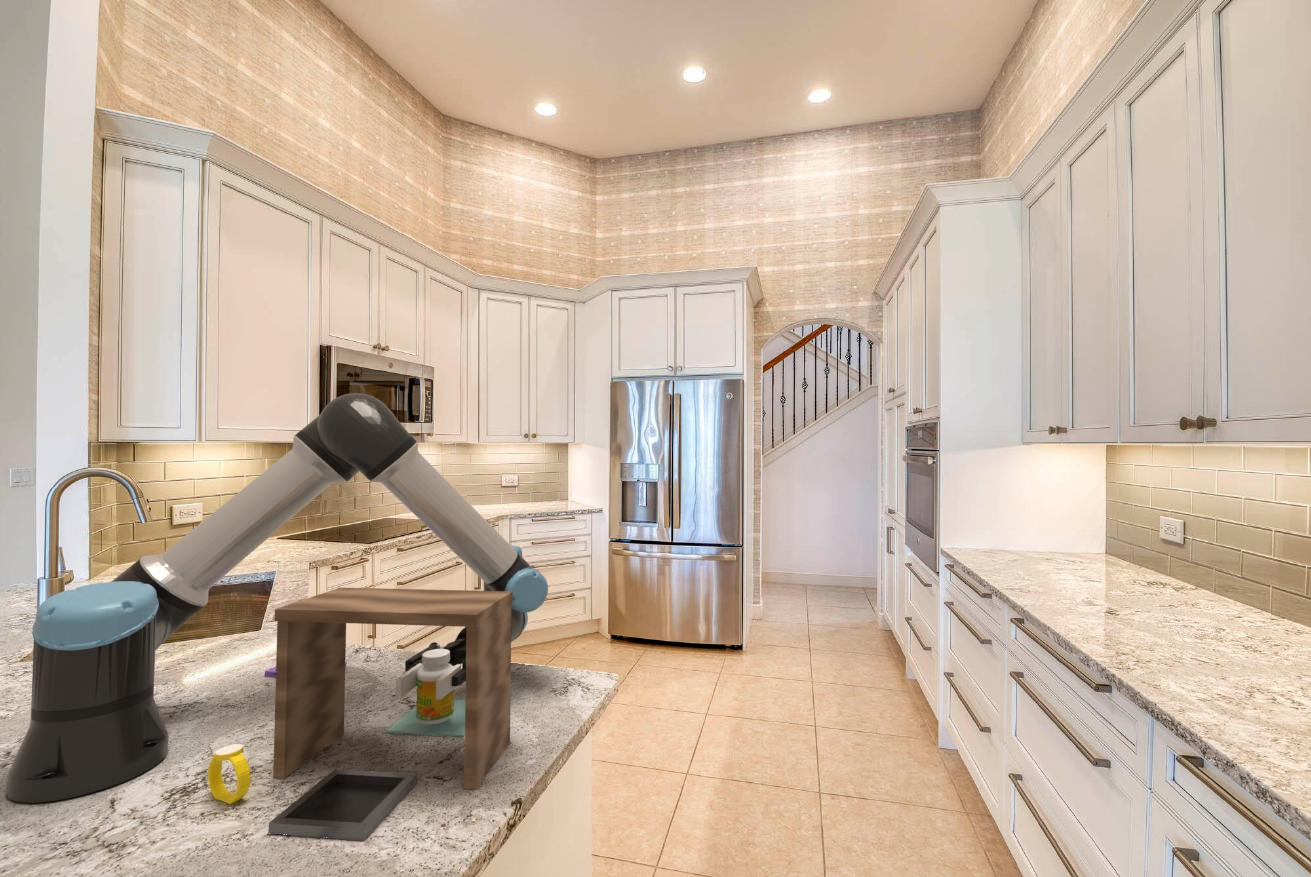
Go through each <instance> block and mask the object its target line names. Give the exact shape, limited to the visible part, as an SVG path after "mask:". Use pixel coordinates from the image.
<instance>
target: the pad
mask: <svg viewBox="0 0 1311 877" xmlns="http://www.w3.org/2000/svg"><path fill="white" fill-rule="evenodd" d="M465 702H466V699H455V698H454V714H453V716H452V717H451V718H450V719H448V720H447V721H444V722H442V723H437V724H422V723H419V722H418V721H417V718H416V710H417V705H416V706H415V707H414V708H412V709H411V710H410V711H408V712H407V713H406V714H405V715H403V716H402V717H401V718H400V719H398V720H397V721H396V722H395V723H394V724H393V725H391V726H390V727H388V729H386V731H385V732H386V734H399V735H400V734H401V735H403V734H404V735H419V736H421V735H422V736H437V737H438V736H443V737H462V738H463V737H464V738H465Z"/></svg>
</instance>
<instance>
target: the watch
mask: <svg viewBox="0 0 1311 877" xmlns="http://www.w3.org/2000/svg"><path fill="white" fill-rule="evenodd" d="M243 753H244V745H243V744H242V743H234V744H229V745H226V746H223V747H221V748H219V749H217V750H216V751H215V753H214V756H212V757H211V761H210V762H209V765H208V769H207V770H208V772H207V782H208V786H209V789H210V792H211V794H212V796H213V798H214V800H218V801H220V800H221V802H224V803H226V804H229V805H232V804H234V803H237V802H238V801H240V800H242V799H243V798H244V797H245V796H246V795H247V793H248V792H249V788H250V785H251V768H250V765H249V762H248V760H247V757H246V756H245V754H243ZM227 760H229V762H230V763H231V765H232V766H233V768H234V772H235V775H236V790H235V793H234V792H231V791H230V790H228V788H227V787H226V785H225V783H224V780H223V779H224V778H223V775H222V767H223V766H222V764H223V761H227Z"/></svg>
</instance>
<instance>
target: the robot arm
mask: <svg viewBox="0 0 1311 877" xmlns="http://www.w3.org/2000/svg"><path fill="white" fill-rule="evenodd" d="M358 473H360V474H362V475H363V476H364V477H365V478H366V479H367V480H368V481H369V482H371V483H379V484H382V485H383V486H384V487H385V488H386V489H387V490H388V491H389V492H390V493H391V494H392V495H394V497H395V498H397V499H398V500H399V501H400V502H401V503H402V504H403V505H404V506H405V508H407V509H408V510H409V511H410V512H411V513H412V514H413V515H414V516H415V517H417V519H419V520H420V521H421V523H423V524H424V525H425V526H426V527H427V528H428V529H429V530H430V531H431V532H432V533H433V534H434V535H435V536H436V537H437V538H439V540H440V541H441V542H443V543H444V544H445V545H446V546H447V548H448V549H450V550H451V551H452V552H453V553H454V554H455V555H456V556H457V558H459V559H460V560H461V561H463V563H464V564H465V565H466V566H467V567H468V568H470V569H471V570H472V571H473V572H474V574H475V575H477V576H478V577H479V578H480V579H481V580H482V581H483V591H513V602H512V603H511V643H512V642H514V641H515V640H516V639H518V638H519V637H520V636H521V635H522V633H523V632H524V630H525V629H526V627H527V625H528V622H529V615H528V613H531V612H534V611H536V610H538V609H539V608H540V607H541V606H542V605H543V603H544V602H545V601H546V600H547V597H548V594H549V584H548V581H547V579H546V577H545V576H544V575H543V574H542V573H541V572H540V570H538V569H536V568H533V567H532V566H531V564H530V563H529V562H528V561H526V560H525V559H524V557H523V550H522V548H521V547H520V546H517V545H511V544H510V543H509V542H508V541H507V540H506V539H505V538H504V537H503V536H502V535H501V534H500V533H499V532H498V531H497V530H496V529H495V528H494V527H493V525H491V524H490V523H489V522H488V521H487V520H486V519H485V518H484V517H483V516H482V515H481V514H480V513H479V512H478V511H477V510H476V509H475V508H474V507H473V506H472V505H471V504H470V502H468V500H467V499H466V498H465V497H463V496H462V495H461V493H459V492H458V490H457V489H455V487H454V486H453V485H451V483H450V482H449V481H448V480H447V479H446V478H445V477H444V476H443V475H442V474H441V473H440V472H439V471H438V470H437V469H436V468H435V467H434V466H433V465H432V464H431V463H430V462H429V461H428V460H427V459H426V458H425V457H424V456H423V455H422V454H421V453H420V452H419V442H418V441H417V440H416V439H415V438H414V437H413V436H412V435H411V433H410V432H409V431H408V430H407V429H406V428H405V427H404V426H403V424H402V422H400V420H398V418H397V417H396V415H395V414H394V413H393V411H392V410H391V409H390V408H389V407H388V406H387V405H386V404H385V403H384V402H383V401H381V400H380V399H379V398H377V397H375V396H373V395H370V394H366V393H360V392H352V393H346V394H343V395H340V396H337V397H336V398H334V399H332V400H331V401H330V402H328V403H327V404H326V405H325V407H324V408H323V410H322V411H321V413H320V414H319V415H317V416H316V417H315V418H314V419H313V420H312V421H310V422H309V423H308V424H307V425H306V426H304V427H303V428H302V429H301V430H300V431H298V432H297V433H296V434H294V435H293V443H292V448H291V449H290V450H289V451H288V452H287V453H286V454H285V455H283V456H282V457H281V458H279V459H278V460H277V461H276V462H274V463H273V464H272V465H271V466H269V467H268V468H267V469H266V470H264V471H263V472H262V473H261V474H260V475H258V476H257V477H256V478H255V479H253V480H252V481H251V482H250V483H249V484H247V485H246V486H245V487H244V488H241V490H239V491H238V492H237V493H236V494H235V495H233V496H232V497H231V498H230V499H229V500H228V501H226V502H225V503H223V505H221V506H220V507H219V508H218V509H216V510H215V511H213V513H211V514H209V516H207V517H206V518H205V519H204V520H203V521H202V522H200V523H199V524H198V525H196V526H195V527H194V528H193V529H192V530H190V531H189V532H188V533H187V534H185V535H184V536H183V537H181V538H180V539H179V540H178V541H176V542H175V543H174V544H173V545H171V546H170V547H169V548H167V550H165V551H164V552H163V553H161V554H153V555H151V554H150V555H149V554H148V555H143V556H142V557H141V558H139V559H138V560H137V561H135V562H134V563H132V564H131V565H130V566H129V567H127V568H126V569H125V570H124V571H122V572H121V573H120V574H119V575H117V576H116V577H115V578H113V579H112V581H109V582H108V581H107V582H100V583H93V584H88V585H87V584H86V585H83V586H78V587H76V588H75V589H66V590H64V591H61V592H58V593H55V594H54V595H52V596H49V598H46V599H45V600H44V601H43V602H42V603H41V604H40V605H39V607H38V608H37V610H36V614H35V620H34V623H33V625H32V631H31V635H32V638H33V652H32V655H33V656H32V676H31V677H32V679H31V680H32V681H31V701H30V702H31V707H30V710H31V711H30V723H29V727H28V729H27V731H26V734H25V735H24V738H23V740H22V742H21V745H20V747H19V748H18V751H17V752H16V755H15V757H14V759H13V762H12V764H11V766H10V768H9V770H8V773H7V777H6V791H5V792H6V794H5V795H6V797H7V798H8V799H9V800H11V801H14V802H18V803H24V804H25V803H29V804H30V803H31V804H32V803H33V804H34V803H46V802H54V801H59V800H66V799H71V798H75V797H79V796H84V795H87V794H92V793H95V792H98V791H102V790H105V789H108V788H111V787H113V786H116V785H118V784H119V785H120V784H122V783H124V782H127V781H128V780H131V779H133V778H136V777H137V776H140V775H142V774H143V773H145V772H148V771H149V770H150V769H152V768H154V767H155V766H156V765H158V764H159V763H161V761H163V760H164V759H165V758H166V757H167V755H168V753H169V737H170V736H169V732H168V730H167V727H166V725H165V723H164V720H163V718H162V715H161V713H160V710H159V708H158V706H157V703H156V700H155V697H154V696H155V695H154V694H155V693H154V690H155V689H154V688H155V664H156V650H158V649H159V647H160V646H161V645H162V644H163V643H164V642H165V641H166V640H168V639H169V638H170V637H171V636H172V635H173V634H175V632H176V631H177V630H179V629H180V628H182V626H183V625H184V624H186V623H187V622H188V621H189V620H190V619H191V618H192V617H193V616H195V615H196V614H197V613H198V612H199V611H200V610H201V609H203V608H204V607H205V606H206V605H207V604H208V602H209V591H210V589H211V588H212V587H214V585H215V584H217V583H218V582H219V581H220V580H221V579H223V578H224V577H225V576H226V575H227V574H229V572H231V571H232V570H233V569H234V568H235V567H237V566H238V565H239V564H240V563H241V562H242V561H243V560H245V559H246V558H247V557H248V556H249V555H250V554H252V552H254V551H255V550H256V549H257V548H259V547H260V546H261V545H262V544H263V543H264V542H265V541H267V540H268V539H269V538H270V537H271V536H273V535H274V534H275V533H276V532H277V531H278V530H280V528H282V527H283V526H284V525H285V524H286V523H288V522H289V521H290V520H291V519H292V518H293V517H294V516H296V515H297V514H298V513H299V512H300V511H301V510H303V509H304V508H305V507H306V506H307V505H308V504H310V503H311V502H312V501H313V500H315V498H316V497H318V496H319V495H320V494H321V493H323V492H324V491H325V490H326V489H328V487H329V486H331V485H332V484H346V483H347V482H348V481H350V480H351V479H352V478H353V477H355V476H356V475H358ZM544 604H545V603H544ZM466 628H467V627H463V628H462V629H461V630H460V631H459V633H458V634H457V636H456V638H455V639H454V640H453V641H451V642H447V644H446V645H445V646H440V644H438V642H437V641H436V642H435V641H434V642H431V643H430V644H429V646H428V647H426V648H424V649H422V650H421V651H419V652H418V653H416V654H414V655H413V656H411V657H409V658H408V659H406V660H405V662H404V664H405V665H404V666H405V667H404V672H402V674H401V675H400V676H398V677H396V678H395V698H396V699H402V698H403V697H405V696H406V695H407V694H408V693H409V692H411V691H412V690H414V689H415V688H417V673H418V671H419V669H420V668H422V667H423V666H424V665H423V664H422V655H423V653H424V652H426V651H429V650H434V649H447V650H449V651H450V661H449V662H448V663H449V664H451V665H452V666H453V668H451V669H450V670H449V671H448V672H446V673H445V674H444V675H443V676H441V677H440V678H439V679H437V680H436V700H441V699H442V698H444V697H445V696H446V695H447V694H448V693H449V692H450V691H452V690H453V689H454V690H455V689H456V687H457V688H458V687H460V686H462V685H463V683H466Z"/></svg>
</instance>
